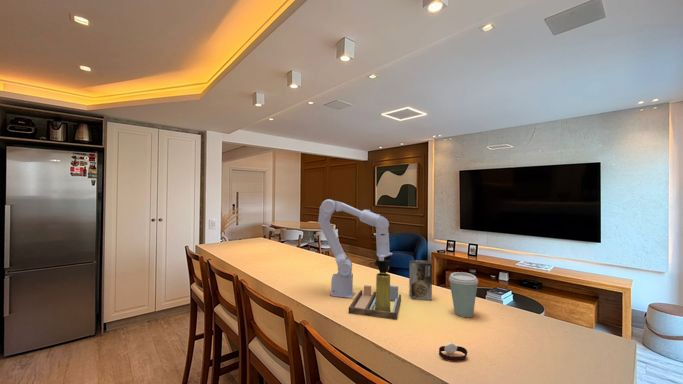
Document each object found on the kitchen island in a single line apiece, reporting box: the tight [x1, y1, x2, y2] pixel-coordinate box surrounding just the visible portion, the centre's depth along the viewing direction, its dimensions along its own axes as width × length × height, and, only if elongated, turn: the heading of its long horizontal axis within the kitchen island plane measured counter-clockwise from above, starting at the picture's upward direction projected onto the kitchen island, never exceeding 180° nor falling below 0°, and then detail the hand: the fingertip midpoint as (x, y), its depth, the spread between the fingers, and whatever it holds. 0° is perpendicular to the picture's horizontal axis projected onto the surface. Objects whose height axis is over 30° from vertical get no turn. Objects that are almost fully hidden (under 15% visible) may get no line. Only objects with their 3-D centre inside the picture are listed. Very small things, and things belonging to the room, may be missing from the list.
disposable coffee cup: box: [448, 271, 479, 318], centre depth 109 cm, size 11×11×15 cm
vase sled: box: [370, 284, 399, 313], centre depth 115 cm, size 9×20×6 cm, turn 164°
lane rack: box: [348, 289, 402, 321], centre depth 115 cm, size 18×22×2 cm
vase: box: [374, 272, 392, 312], centre depth 110 cm, size 6×6×14 cm
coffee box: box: [408, 259, 433, 301], centre depth 127 cm, size 9×6×16 cm
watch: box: [438, 342, 468, 362], centre depth 78 cm, size 8×5×4 cm, turn 92°
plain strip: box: [355, 284, 373, 309], centre depth 117 cm, size 5×20×5 cm, turn 164°
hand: (384, 273), depth 128 cm, fingers open, 7 cm apart
